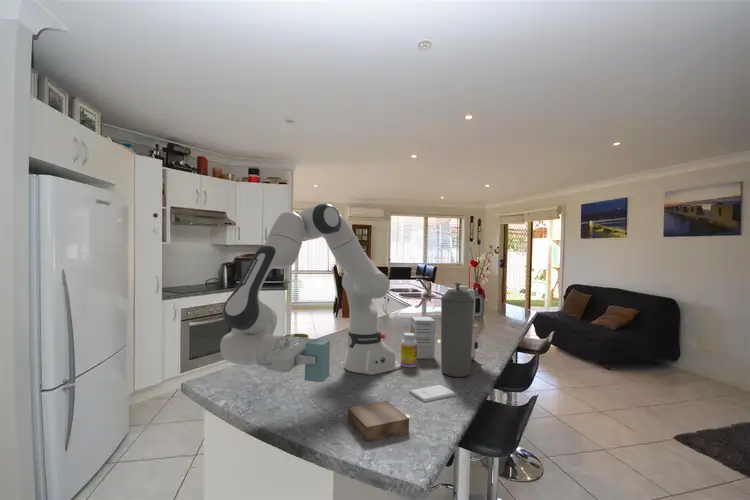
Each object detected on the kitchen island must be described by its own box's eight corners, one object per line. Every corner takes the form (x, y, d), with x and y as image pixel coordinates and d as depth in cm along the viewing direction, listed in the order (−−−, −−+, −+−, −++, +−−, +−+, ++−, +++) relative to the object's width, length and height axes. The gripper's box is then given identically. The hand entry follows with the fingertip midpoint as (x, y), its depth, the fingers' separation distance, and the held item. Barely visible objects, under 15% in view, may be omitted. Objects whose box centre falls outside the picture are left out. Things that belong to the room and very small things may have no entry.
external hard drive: (455, 397, 118) (423, 403, 113) (439, 389, 126) (409, 394, 120) (455, 392, 118) (424, 398, 113) (439, 384, 126) (409, 389, 120)
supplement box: (409, 352, 168) (410, 316, 168) (429, 352, 169) (430, 316, 169) (414, 358, 159) (415, 320, 159) (434, 358, 160) (435, 320, 160)
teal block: (312, 374, 102) (313, 338, 102) (329, 376, 101) (329, 340, 101) (304, 380, 97) (305, 343, 97) (322, 382, 96) (323, 344, 96)
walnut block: (386, 414, 104) (387, 400, 104) (408, 433, 93) (409, 418, 93) (347, 422, 99) (348, 407, 99) (366, 443, 88) (366, 427, 88)
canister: (461, 366, 149) (463, 281, 149) (479, 377, 137) (481, 284, 137) (433, 369, 145) (435, 281, 145) (449, 380, 133) (451, 284, 133)
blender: (443, 361, 156) (445, 286, 156) (448, 353, 168) (449, 284, 168) (481, 366, 151) (483, 288, 151) (483, 358, 162) (485, 286, 162)
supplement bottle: (416, 368, 145) (416, 336, 145) (399, 367, 146) (400, 335, 146) (417, 363, 152) (417, 332, 152) (401, 362, 153) (402, 331, 153)
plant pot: (288, 359, 152) (288, 339, 152) (284, 353, 161) (285, 334, 161) (310, 357, 156) (311, 337, 156) (305, 352, 164) (306, 332, 164)
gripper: (254, 350, 92) (304, 355, 89) (291, 333, 112) (333, 336, 109) (253, 375, 92) (303, 381, 89) (291, 353, 112) (333, 357, 109)
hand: (320, 356), depth 99 cm, fingers closed on teal block, 5 cm apart
